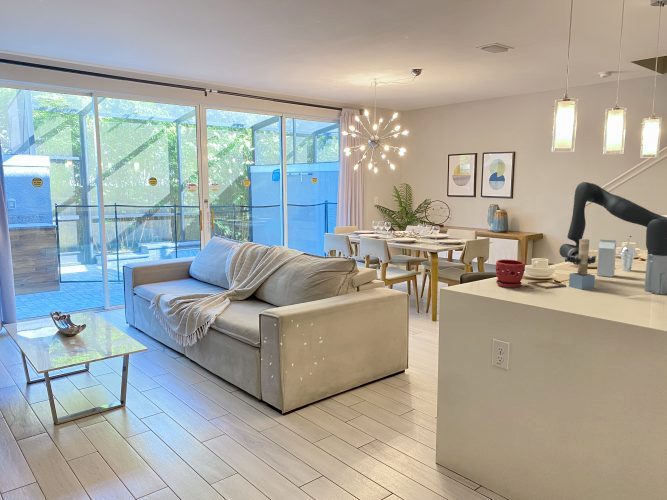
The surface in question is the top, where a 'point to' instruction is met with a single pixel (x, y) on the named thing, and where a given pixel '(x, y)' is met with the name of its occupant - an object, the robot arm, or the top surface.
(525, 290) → the top surface
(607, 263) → the milk carton
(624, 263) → the cup with straw
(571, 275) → the blue cube
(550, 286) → the walnut tray
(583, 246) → the oak dowel
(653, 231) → the robot arm
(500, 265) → the plant pot
